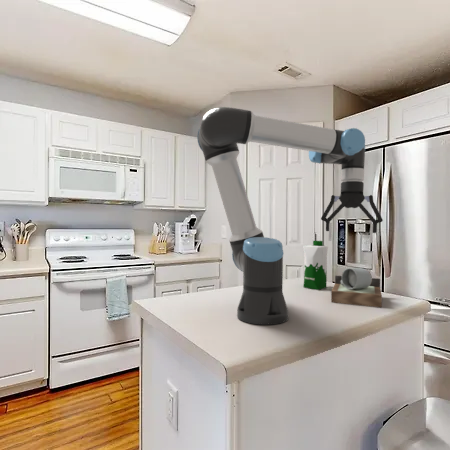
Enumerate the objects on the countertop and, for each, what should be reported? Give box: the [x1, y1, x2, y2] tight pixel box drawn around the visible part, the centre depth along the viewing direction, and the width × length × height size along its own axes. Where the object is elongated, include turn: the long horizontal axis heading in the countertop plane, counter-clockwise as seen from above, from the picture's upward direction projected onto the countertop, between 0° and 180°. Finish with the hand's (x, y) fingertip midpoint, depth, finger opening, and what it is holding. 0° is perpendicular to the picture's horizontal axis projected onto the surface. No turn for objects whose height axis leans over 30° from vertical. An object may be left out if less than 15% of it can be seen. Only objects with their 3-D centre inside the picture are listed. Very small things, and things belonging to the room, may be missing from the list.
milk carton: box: [302, 240, 329, 291], centre depth 138 cm, size 9×9×20 cm
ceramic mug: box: [341, 267, 373, 290], centre depth 118 cm, size 11×8×8 cm
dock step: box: [330, 275, 383, 308], centre depth 118 cm, size 16×16×7 cm
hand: (350, 241), depth 114 cm, fingers open, 13 cm apart
